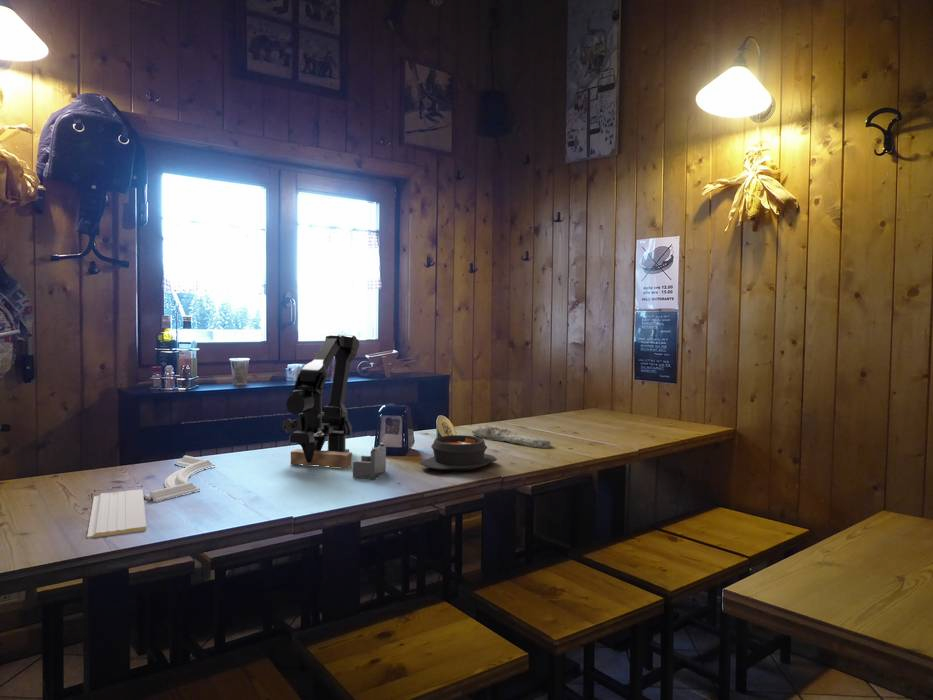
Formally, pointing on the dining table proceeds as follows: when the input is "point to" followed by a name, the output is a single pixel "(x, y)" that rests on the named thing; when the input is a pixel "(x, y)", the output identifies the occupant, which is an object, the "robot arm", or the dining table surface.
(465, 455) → the casserole
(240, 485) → the dining table surface
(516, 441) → the long grey stone
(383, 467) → the bracket
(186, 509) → the dining table surface
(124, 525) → the baseboard molding
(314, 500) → the dining table surface
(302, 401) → the robot arm
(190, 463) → the molding
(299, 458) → the brown wooden bar
